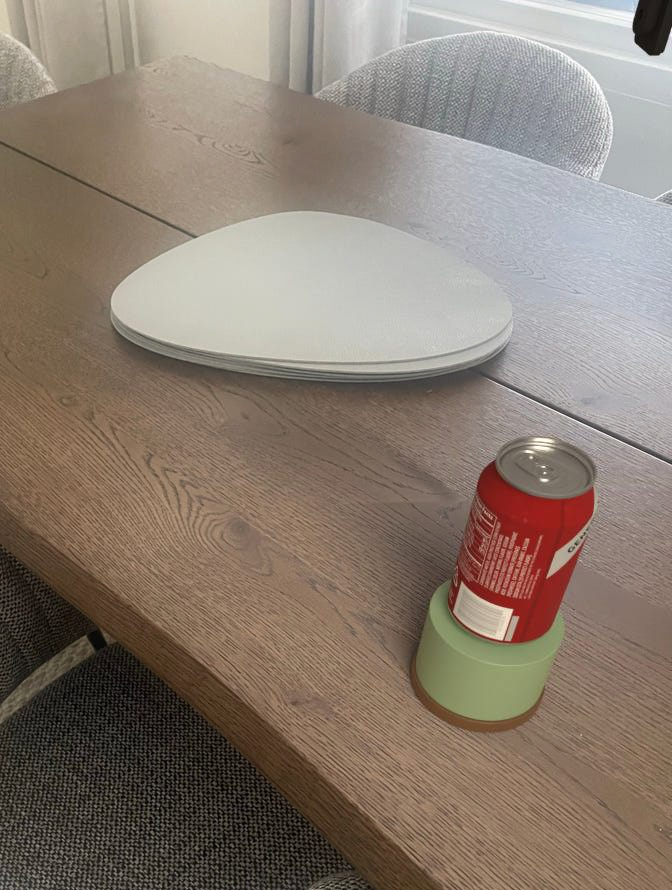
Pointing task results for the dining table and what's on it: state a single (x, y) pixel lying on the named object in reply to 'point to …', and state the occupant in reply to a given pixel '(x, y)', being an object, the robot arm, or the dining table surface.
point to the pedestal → (479, 672)
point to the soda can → (523, 540)
